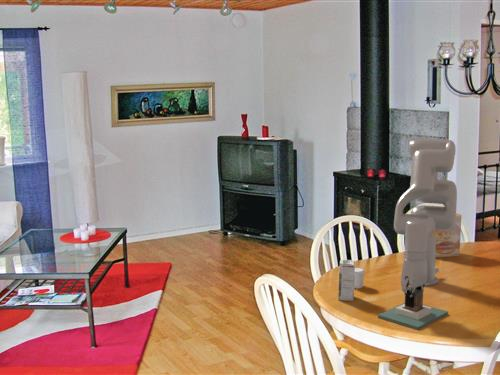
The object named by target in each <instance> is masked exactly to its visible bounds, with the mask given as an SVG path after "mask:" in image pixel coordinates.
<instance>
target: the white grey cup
mask: <svg viewBox="0 0 500 375" xmlns="http://www.w3.org/2000/svg"><path fill="white" fill-rule="evenodd" d="M365 271H366V270H365V269H364V268H362V267H356V266H355V276H354V289H355V288H356V289H361V288H363V287H364V280H365Z"/></svg>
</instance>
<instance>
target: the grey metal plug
mask: <svg viewBox="0 0 500 375" xmlns="http://www.w3.org/2000/svg"><path fill="white" fill-rule="evenodd" d="M408 290H409V291H410V292H411V289H408ZM413 297H414V307H413V308H411V307H408V306H405V309H407V310H411V311H414V312H418V311H420V310H422V309H423V305H424V291H422V290H418V289H415V288H414V293H413Z"/></svg>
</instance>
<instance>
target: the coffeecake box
mask: <svg viewBox="0 0 500 375" xmlns="http://www.w3.org/2000/svg"><path fill="white" fill-rule="evenodd" d="M462 216H463V215H462V214H461V213H457V212H456V223H455V227H454V229H452V230H449V231H445V230H435V231H434V232H433V235H434V236H435V238H436V258H445V257H447V258H449V257H457V256H458V257H459V256H460V250H461V247H460V246H461V231H462Z"/></svg>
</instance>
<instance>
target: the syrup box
mask: <svg viewBox="0 0 500 375" xmlns="http://www.w3.org/2000/svg"><path fill="white" fill-rule="evenodd" d="M355 267H356V260H352V259H340V260H339V270H338V272H339V273H338V298H337V299H338V301H349V302H353V301H354V296H355V288H354V276H355Z"/></svg>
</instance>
